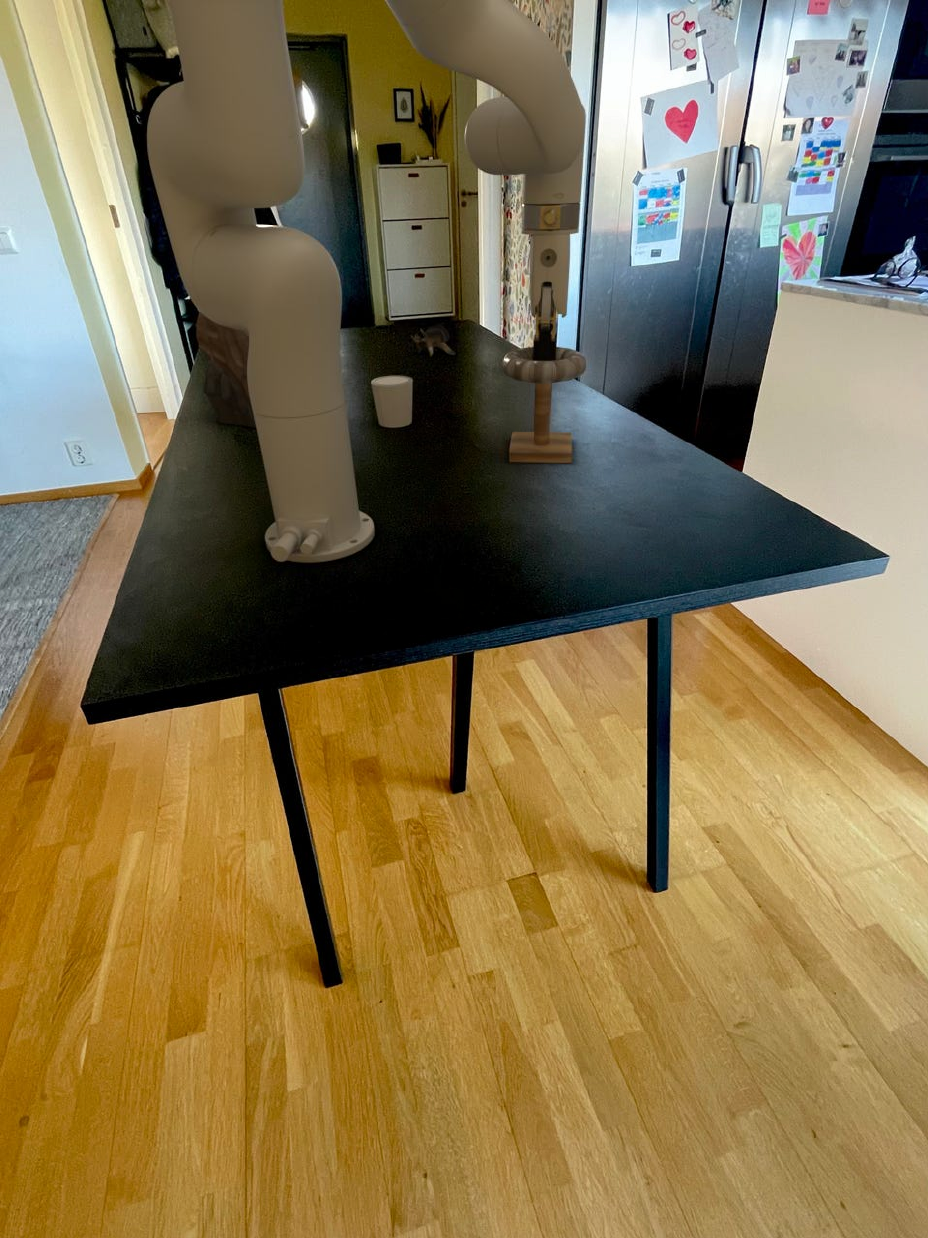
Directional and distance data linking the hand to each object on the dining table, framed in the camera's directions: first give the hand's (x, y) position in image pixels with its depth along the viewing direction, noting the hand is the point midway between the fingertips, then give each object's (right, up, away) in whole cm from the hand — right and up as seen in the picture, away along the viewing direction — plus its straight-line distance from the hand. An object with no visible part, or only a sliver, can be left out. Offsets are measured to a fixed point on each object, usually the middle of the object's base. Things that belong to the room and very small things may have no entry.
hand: (544, 365), depth 97 cm
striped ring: (-1, -1, -4) cm, 4 cm away
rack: (0, -12, +3) cm, 12 cm away
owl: (-48, -2, +20) cm, 52 cm away
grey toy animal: (-19, +25, +58) cm, 65 cm away
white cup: (-23, -4, +16) cm, 29 cm away
